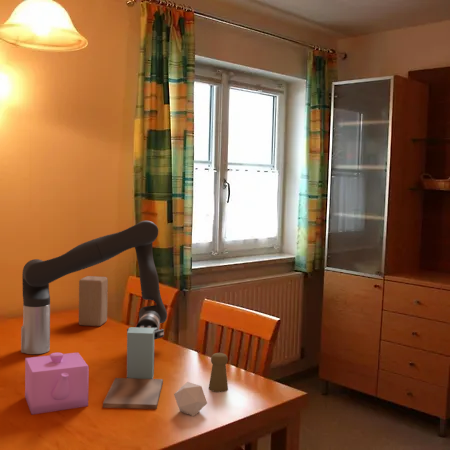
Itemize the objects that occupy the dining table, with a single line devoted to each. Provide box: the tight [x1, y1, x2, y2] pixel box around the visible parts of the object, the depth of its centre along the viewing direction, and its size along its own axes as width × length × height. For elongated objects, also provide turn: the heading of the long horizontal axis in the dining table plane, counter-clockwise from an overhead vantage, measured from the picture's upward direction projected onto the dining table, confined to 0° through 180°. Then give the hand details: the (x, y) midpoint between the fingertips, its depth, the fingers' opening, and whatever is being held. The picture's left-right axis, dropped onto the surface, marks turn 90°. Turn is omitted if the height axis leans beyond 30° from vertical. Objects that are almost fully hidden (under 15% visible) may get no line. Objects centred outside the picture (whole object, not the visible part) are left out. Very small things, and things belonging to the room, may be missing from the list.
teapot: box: [24, 352, 90, 415], centre depth 160 cm, size 15×25×14 cm, turn 27°
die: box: [173, 381, 208, 417], centre depth 157 cm, size 8×9×10 cm
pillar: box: [126, 326, 155, 379], centre depth 180 cm, size 8×5×16 cm, turn 91°
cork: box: [208, 352, 229, 393], centre depth 175 cm, size 6×6×11 cm
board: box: [102, 377, 164, 410], centre depth 168 cm, size 15×20×1 cm
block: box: [78, 275, 109, 327], centre depth 245 cm, size 10×10×20 cm
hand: (142, 340), depth 182 cm, fingers closed
